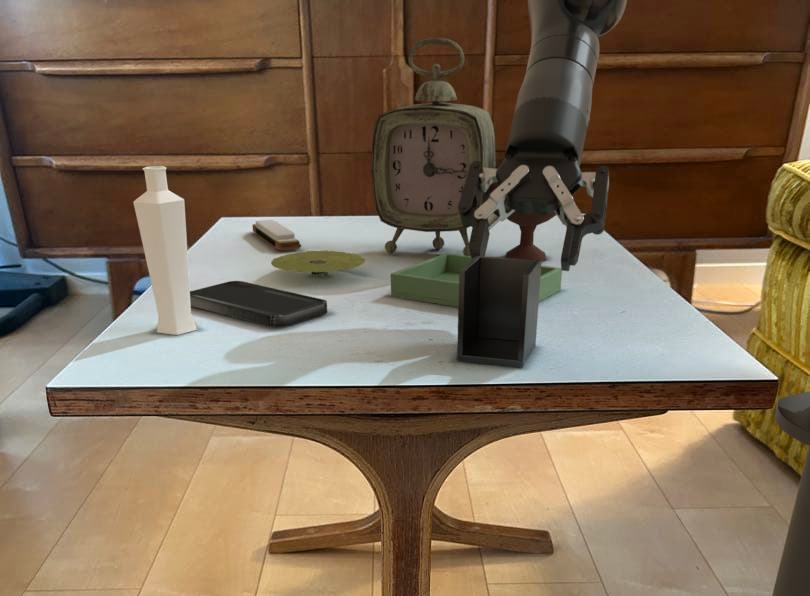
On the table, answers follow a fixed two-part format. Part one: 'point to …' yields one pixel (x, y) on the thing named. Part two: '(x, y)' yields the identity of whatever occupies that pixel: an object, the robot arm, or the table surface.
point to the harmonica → (276, 235)
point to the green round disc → (318, 262)
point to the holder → (498, 310)
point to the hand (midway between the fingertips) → (520, 263)
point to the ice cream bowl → (525, 231)
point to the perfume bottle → (165, 251)
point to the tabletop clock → (429, 156)
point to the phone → (258, 303)
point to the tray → (452, 280)
